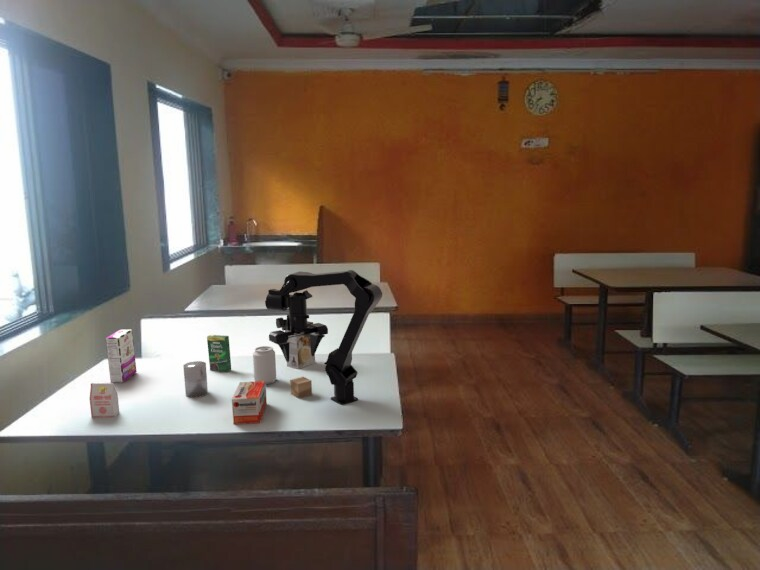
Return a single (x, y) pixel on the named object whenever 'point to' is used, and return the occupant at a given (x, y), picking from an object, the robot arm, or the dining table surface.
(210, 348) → the coffee box
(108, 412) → the white paper food packet
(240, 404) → the medicine box
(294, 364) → the coffee box
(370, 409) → the dining table surface
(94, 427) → the dining table surface
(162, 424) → the dining table surface
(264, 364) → the can
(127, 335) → the candy bar box
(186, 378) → the grey metal cylinder
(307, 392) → the light brown wooden cube
